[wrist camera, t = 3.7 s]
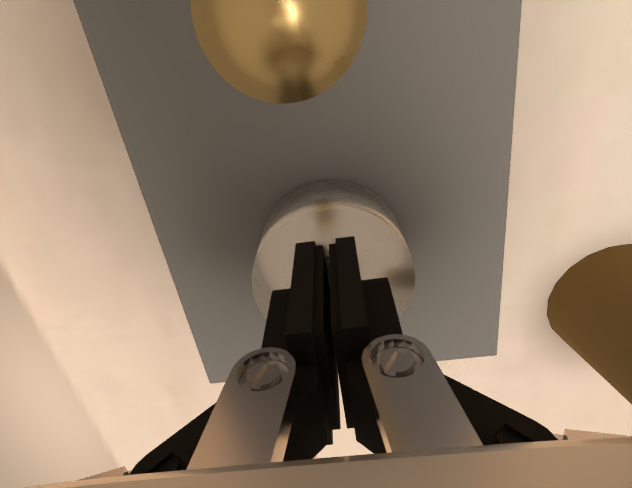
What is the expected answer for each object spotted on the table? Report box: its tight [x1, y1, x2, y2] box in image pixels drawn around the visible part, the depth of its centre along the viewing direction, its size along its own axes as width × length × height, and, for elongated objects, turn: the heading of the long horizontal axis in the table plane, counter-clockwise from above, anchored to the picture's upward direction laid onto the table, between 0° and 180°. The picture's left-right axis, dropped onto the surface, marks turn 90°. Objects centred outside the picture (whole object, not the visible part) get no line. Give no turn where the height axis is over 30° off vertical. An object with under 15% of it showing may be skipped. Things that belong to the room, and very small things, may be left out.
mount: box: [73, 0, 522, 383], centre depth 13 cm, size 26×12×4 cm, turn 8°
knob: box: [252, 180, 415, 319], centre depth 15 cm, size 5×5×6 cm
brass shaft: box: [190, 0, 367, 104], centre depth 9 cm, size 3×3×6 cm
